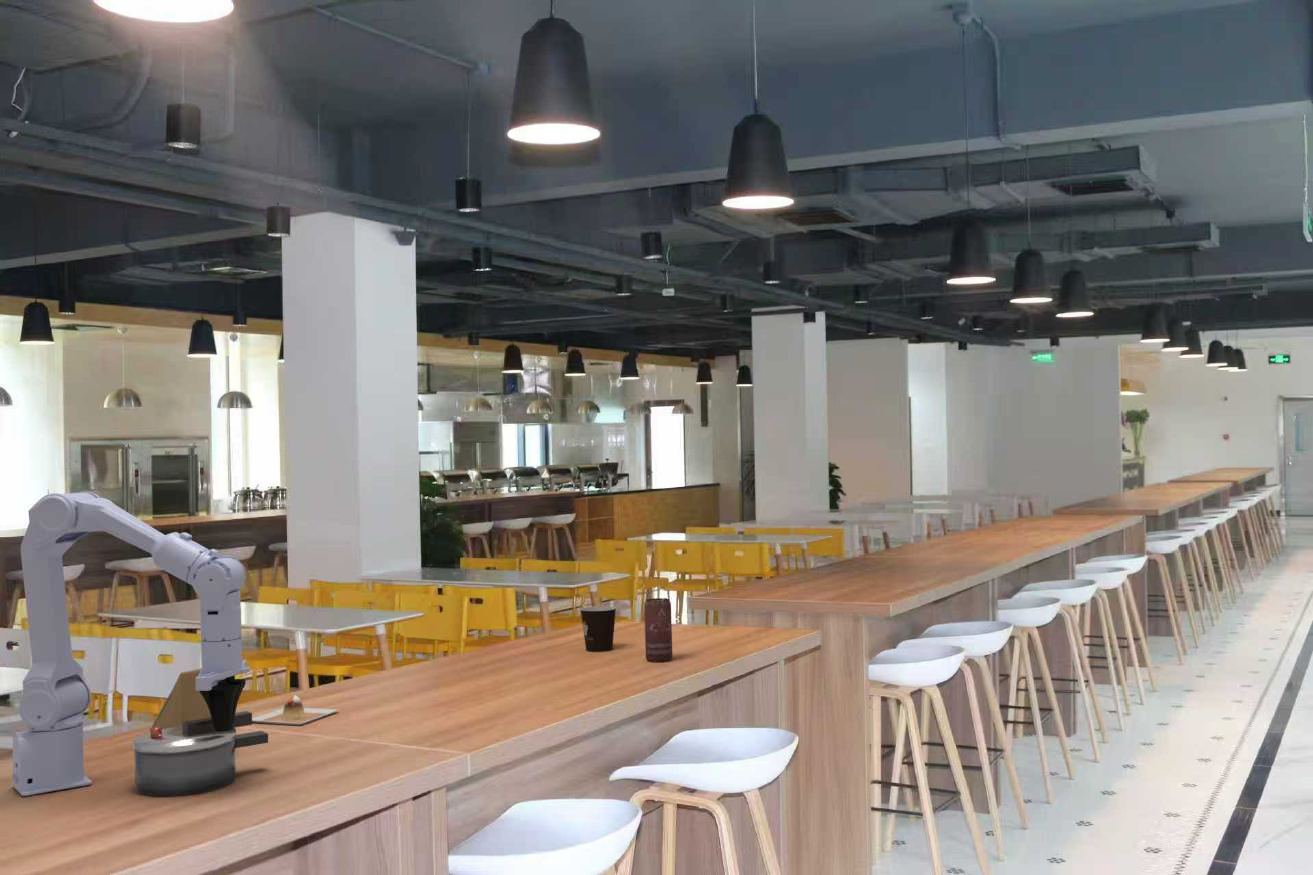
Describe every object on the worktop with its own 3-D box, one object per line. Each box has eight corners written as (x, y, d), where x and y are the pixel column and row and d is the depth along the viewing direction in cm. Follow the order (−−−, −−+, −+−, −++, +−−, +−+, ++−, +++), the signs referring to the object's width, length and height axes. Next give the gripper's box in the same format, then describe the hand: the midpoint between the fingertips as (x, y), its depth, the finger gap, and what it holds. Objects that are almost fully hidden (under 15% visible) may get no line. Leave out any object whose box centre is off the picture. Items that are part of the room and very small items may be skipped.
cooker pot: (150, 802, 171) (149, 759, 171) (124, 782, 182) (123, 742, 182) (282, 777, 183) (281, 737, 183) (250, 760, 194) (249, 722, 194)
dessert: (246, 725, 222) (245, 699, 222) (287, 712, 234) (286, 687, 234) (300, 729, 218) (300, 702, 218) (340, 715, 229) (339, 690, 229)
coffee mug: (616, 652, 290) (614, 610, 290) (580, 653, 290) (579, 611, 291) (618, 644, 302) (617, 604, 302) (583, 645, 302) (582, 605, 302)
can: (678, 658, 278) (676, 598, 278) (663, 663, 273) (661, 601, 273) (655, 657, 281) (654, 596, 282) (640, 661, 276) (639, 600, 276)
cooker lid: (154, 758, 171) (154, 738, 171) (118, 743, 181) (118, 724, 181) (270, 736, 183) (269, 718, 183) (229, 723, 193) (229, 705, 193)
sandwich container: (182, 742, 208) (180, 655, 209) (231, 755, 199) (229, 663, 199) (134, 753, 202) (132, 663, 202) (182, 766, 192) (180, 671, 192)
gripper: (228, 645, 173) (231, 740, 173) (265, 631, 188) (267, 718, 188) (180, 647, 173) (182, 741, 173) (220, 632, 188) (222, 719, 188)
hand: (223, 730), depth 180 cm, fingers closed
